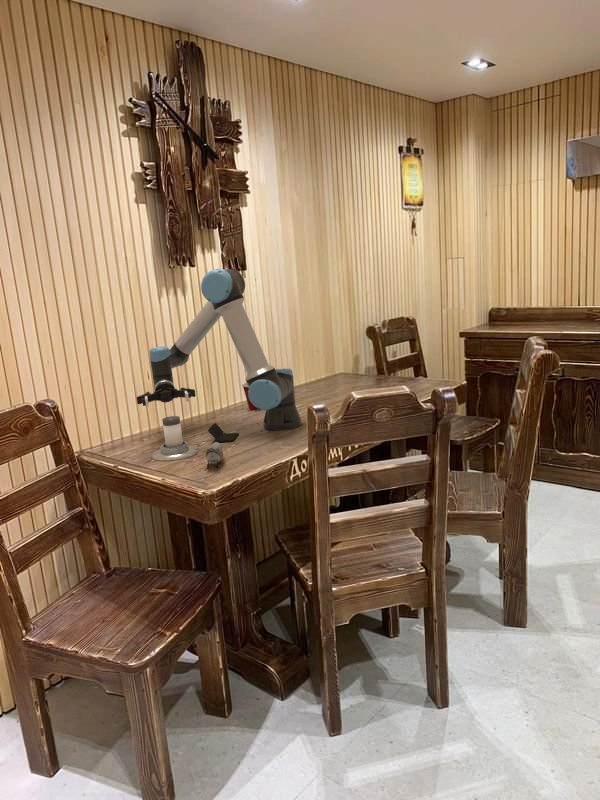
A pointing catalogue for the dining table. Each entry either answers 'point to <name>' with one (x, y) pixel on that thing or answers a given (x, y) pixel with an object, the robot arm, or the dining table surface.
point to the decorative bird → (214, 454)
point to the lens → (172, 431)
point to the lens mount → (175, 452)
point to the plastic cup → (246, 388)
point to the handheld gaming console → (222, 434)
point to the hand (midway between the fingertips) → (167, 400)
